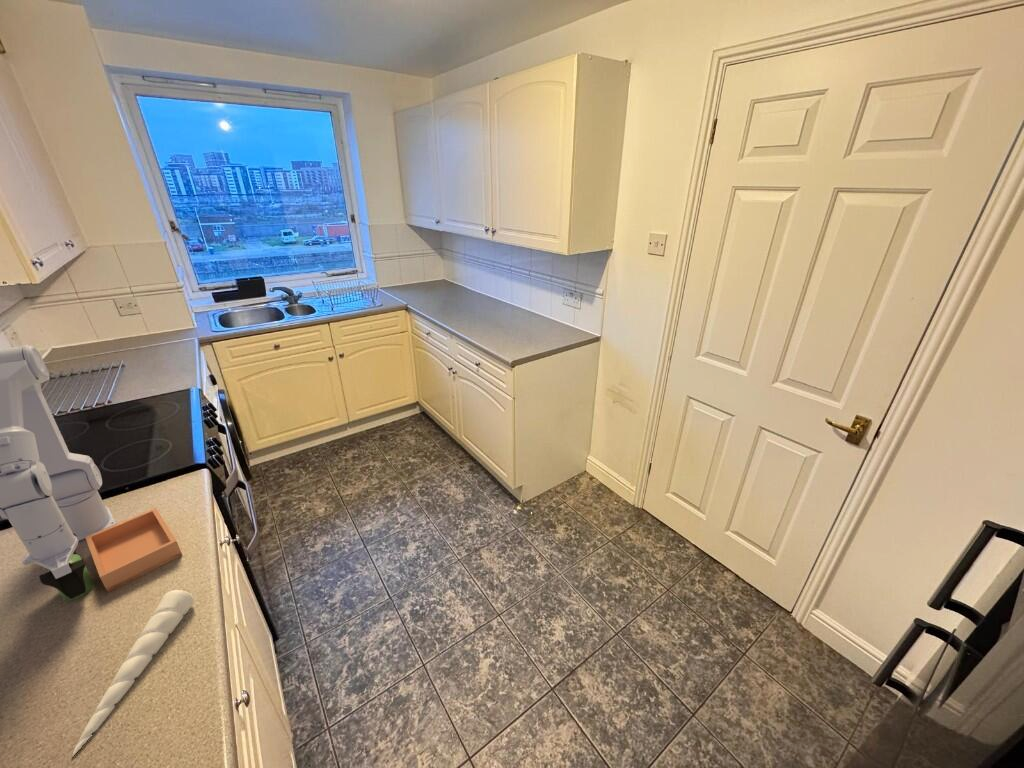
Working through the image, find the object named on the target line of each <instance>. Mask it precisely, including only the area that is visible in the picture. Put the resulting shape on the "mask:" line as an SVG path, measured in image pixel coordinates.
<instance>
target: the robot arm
mask: <svg viewBox="0 0 1024 768" xmlns="http://www.w3.org/2000/svg"><path fill="white" fill-rule="evenodd" d="M50 379H51V378H50V372H49V370H48V368H47V365H46V363H45V361H44V360H43V357H42V354H41V352H39V350H38V348H36V347H34V346H33V345H30V344H23V345H22V346H15V347H13V346H12V347H8V348H7V347H6V348H0V517H1V518H2V519H3V520H8V522H9V523H10V524H11V527H12V528H13V529H14V531H15V533H16V535H17V536H18V538H19V539H20V541H21V543H22V544H23V546H24V547H25V549H26V550H27V553H28V554H27V555H24V556H22V557H21V562H22V565H24V566H27V565H31V564H36V565H38V566H41V567H42V568H45V569H49V570H51V571H49V572H45V573H43V574H39V581H40V583H41V584H43V585H44V586H48V587H52V588H54V589H56V590H57V589H58V590H59V591H61V592H62V593H63V594H64V595H66V596H67V597H69V598H70V599H72V598H74V597H76V596H78V595H80V594H83V593H85V592H86V587H85V583H84V578H83V571H84V568H85V566H86V561H85V559H84V558H81V560H79V561H77V562H74V563H72V564H70V563H69V561H70V559H71V557H72V555H73V554H77V552H76V549H77V547H78V544H79V541H82V540H84V539H85V540H86V538H85V537H87V536H89V535H92V534H94V533H96V532H99V531H101V530H104V529H106V528H109V527H111V526H113V525H116V524H117V523H116V520H115V519H114V516H113V514H112V512H111V510H110V507H109V506H106V505H105V504H104V502H103V499H102V496H101V495H100V493H99V491H98V490H100V488H101V487H102V485H103V478H102V474H101V471H100V469H99V468H98V466H97V465H96V464H95V462H94V459H93V458H92V457H90V456H89V455H84V454H80V453H73V452H70V451H69V449H68V446H67V444H66V441H65V440H64V437H63V435H62V433H61V431H60V429H59V426H58V425H57V422H56V420H55V418H54V415H53V414H52V411H51V409H50V407H49V404H48V402H47V400H46V397H45V396H44V394H43V392H42V383H45V382H47V381H49V380H50ZM58 590H57V591H58ZM59 591H58V592H59Z"/></svg>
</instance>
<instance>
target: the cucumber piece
mask: <svg viewBox="0 0 1024 768" xmlns="http://www.w3.org/2000/svg"><path fill="white" fill-rule="evenodd" d="M81 559H82V558H81V556H80V555H79V554H78V553H76V554H73V555H72V557H71V559H70V561H69V563H70V564H72V563H74V562H77V561H79V560H81ZM45 569H46V570H45V571H46V572H45V573H47V572H49V571H51V570H49V569H47V568H45ZM83 578H84V583H85V587H86V592H85V593H83V594H80V595H78V596H76V597H74V598H72V599H70V598H69V597H67V596H66V595H64V594H63V593H62V592H61V591H59V590H58V589H56V590H57V591H58V593H59V594H60V597H61V598H62V600H64V601H73V600H76V599H79V598H81V597H84V596H85V595H86V594H88V593H89V592H91V590H92V589H93V588H94V587H95V584H96V583H95V581H94V580H93V577H92V576H91V574H90V572H89V570H88V569H87V566H86V565H85V568H84V571H83Z"/></svg>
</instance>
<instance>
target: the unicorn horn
mask: <svg viewBox="0 0 1024 768" xmlns="http://www.w3.org/2000/svg"><path fill="white" fill-rule="evenodd" d="M194 601H195V600H194V597H193V595H192V594H191V593H190V592H189V591H185V590H181V589H173V590H170V591H168V592H166V593H164V595H163V596H162V598H161V600H160V601H159V603H158V605H157V606H156V608H155V610H154V612H153V613H152V615H151V617H150V618H149V620H148V621H147V623H146V625H145V626H144V628H143V629H142V631H141V632H140V634H139V636H138V638H137V640H136V641H135V643H134V644H133V646H132V647H131V649H130V651H129V653H127V656H126V657H125V659H124V662H123V663H122V664H121V666H120V668H119V670H117V672H116V674H115V676H114V677H113V680H112V681H111V683H110V684H109V687H108V688H107V690H106V691H105V692H104V695H103V697H102V698H101V700H100V701H99V702H98V703H99V704H98V705H97V707H96V709H95V711H94V713H93V714H92V716H91V718H90V719H89V720H88V723H87V725H86V726H85V728H84V730H83V732H82V734H81V736H80V738H79V739H78V741H77V743H76V746H75V748H74V750H73V752H72V753H73V754H71V756H72V755H74V754H75V753H76V752H77V751H78V750H79V749H80V747H81V746H82V745H83V744H84V743H85V742H86V741H87V740H88V739H89V738H90V737H91V736H92V737H93V735H91V734H92V733H93V734H94V732H96V730H97V731H98V730H99V728H100V726H102V724H103V723H104V722H105V720H106V719H107V718H108V717H109V715H110V714H111V713H112V711H113V710H114V709H115V708H116V704H118V703H119V702H120V701H121V700H122V698H124V696H125V695H126V693H127V692H128V691H129V690H130V688H131V687H132V686H133V684H134V683H135V682H136V680H135V679H136V678H138V677H139V676H140V675H141V674H142V673H143V671H144V670H145V669H146V667H147V666H148V664H150V662H151V661H152V659H153V656H154V655H156V654H157V653H158V651H159V650H160V649H161V648H162V646H163V645H164V644H165V643H166V641H167V639H168V638H169V635H171V634H172V633H173V632H174V630H175V629H176V627H177V626H178V625H179V623H180V622H181V621H182V620H183V619H184V616H185V615H187V613H188V612H189V611H190V610H191V607H192V606H193V605H194ZM92 737H91V738H92ZM91 738H90V739H91ZM90 739H89V740H90ZM89 740H88V741H89Z"/></svg>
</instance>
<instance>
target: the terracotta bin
mask: <svg viewBox="0 0 1024 768" xmlns="http://www.w3.org/2000/svg"><path fill="white" fill-rule="evenodd" d="M85 540H86V543H87V546H88V549H89V551H90V554H91V557H92V560H93V562H94V565H95V567H96V571H97V573H98V575H99V578H100V580H101V582H102V584H103V586H104V588H105V589H106V591H107V592H108V593H110V592H112V591H114V590H116V589H118V588H120V587H122V586H124V585H126V584H127V583H130V582H132V581H134V580H136V579H138V578H140V577H142V576H143V575H145V574H148V573H149V572H151V571H154V570H155V569H157V568H160V567H162V566H164V565H166V564H168V563H169V562H173V561H174V560H176V559H177V558H179V557H182V556H183V553H182V551H181V549H180V546H179V543H178V541H177V540H176V537H175V536H174V535H173V534H172V531H171V530H170V528H169V527H168V525H167V524H166V521H165V520H164V518H163V517H162V515H161V514H160V513H159V511H158V509H157V508H156V507H155V508H151V509H150V510H147V511H144V512H143V513H142V512H141V513H139V514H137V515H135V516H133V517H130V518H128V519H125V520H123V521H121V522H119V523H116V525H113V526H111V527H109V528H106V529H104V530H101V531H99V532H96V533H94V534H92V535H89V536H87V537H85Z"/></svg>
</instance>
